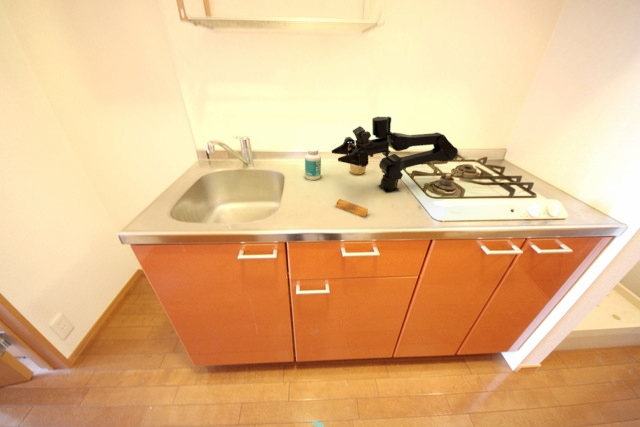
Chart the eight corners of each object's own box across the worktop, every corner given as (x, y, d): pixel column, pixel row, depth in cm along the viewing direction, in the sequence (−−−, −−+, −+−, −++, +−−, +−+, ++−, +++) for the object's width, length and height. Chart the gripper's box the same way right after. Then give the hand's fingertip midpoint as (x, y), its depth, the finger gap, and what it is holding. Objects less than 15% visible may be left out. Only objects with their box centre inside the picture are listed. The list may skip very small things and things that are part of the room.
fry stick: (336, 206, 87) (336, 201, 86) (339, 204, 89) (339, 198, 87) (364, 217, 81) (365, 211, 80) (367, 214, 83) (368, 208, 82)
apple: (349, 168, 119) (358, 155, 116) (361, 177, 117) (370, 165, 114) (344, 168, 112) (353, 155, 109) (357, 178, 110) (366, 165, 107)
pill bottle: (318, 181, 106) (319, 152, 99) (303, 179, 107) (302, 151, 100) (321, 174, 112) (322, 147, 105) (307, 173, 113) (307, 146, 106)
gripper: (363, 120, 91) (326, 128, 90) (383, 132, 76) (339, 141, 75) (364, 147, 98) (329, 155, 96) (383, 162, 83) (342, 172, 81)
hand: (334, 155), depth 87 cm, fingers open, 9 cm apart
